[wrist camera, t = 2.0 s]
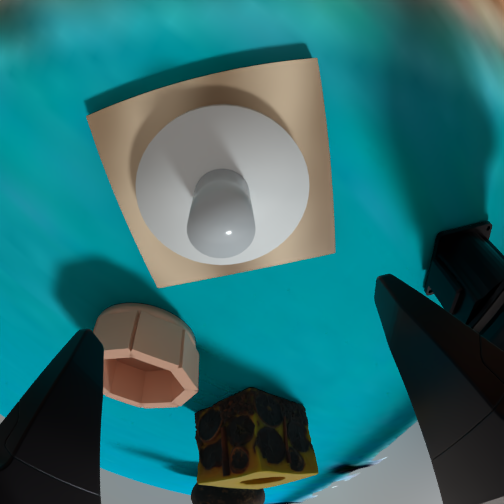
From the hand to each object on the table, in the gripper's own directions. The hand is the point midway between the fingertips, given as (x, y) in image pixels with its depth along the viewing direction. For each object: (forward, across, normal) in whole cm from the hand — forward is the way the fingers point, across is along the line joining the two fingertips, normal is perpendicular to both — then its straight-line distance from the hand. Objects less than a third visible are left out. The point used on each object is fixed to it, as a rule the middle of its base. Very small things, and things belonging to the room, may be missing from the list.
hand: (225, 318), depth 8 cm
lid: (+9, 0, 0) cm, 9 cm away
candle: (+10, +4, +29) cm, 31 cm away
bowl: (+10, +10, +12) cm, 19 cm away
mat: (+10, 0, 0) cm, 10 cm away
